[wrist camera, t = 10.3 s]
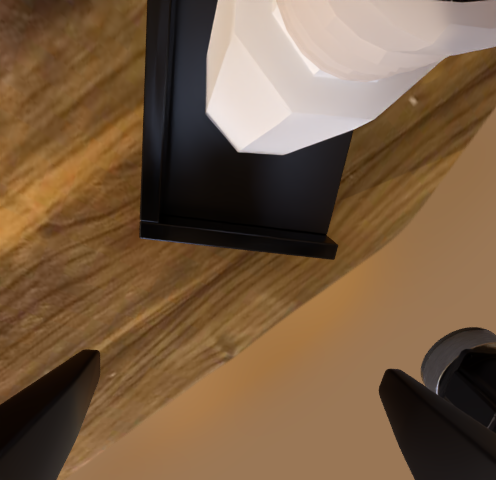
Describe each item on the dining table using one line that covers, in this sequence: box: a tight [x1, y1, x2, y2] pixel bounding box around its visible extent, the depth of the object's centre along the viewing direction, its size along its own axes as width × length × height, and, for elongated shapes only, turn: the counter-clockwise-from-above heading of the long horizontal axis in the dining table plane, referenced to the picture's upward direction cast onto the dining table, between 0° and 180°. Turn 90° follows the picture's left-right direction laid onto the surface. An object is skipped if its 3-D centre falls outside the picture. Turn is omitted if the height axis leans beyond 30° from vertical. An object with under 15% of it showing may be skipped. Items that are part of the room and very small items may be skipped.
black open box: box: [139, 0, 353, 260], centre depth 14 cm, size 9×14×8 cm, turn 171°
